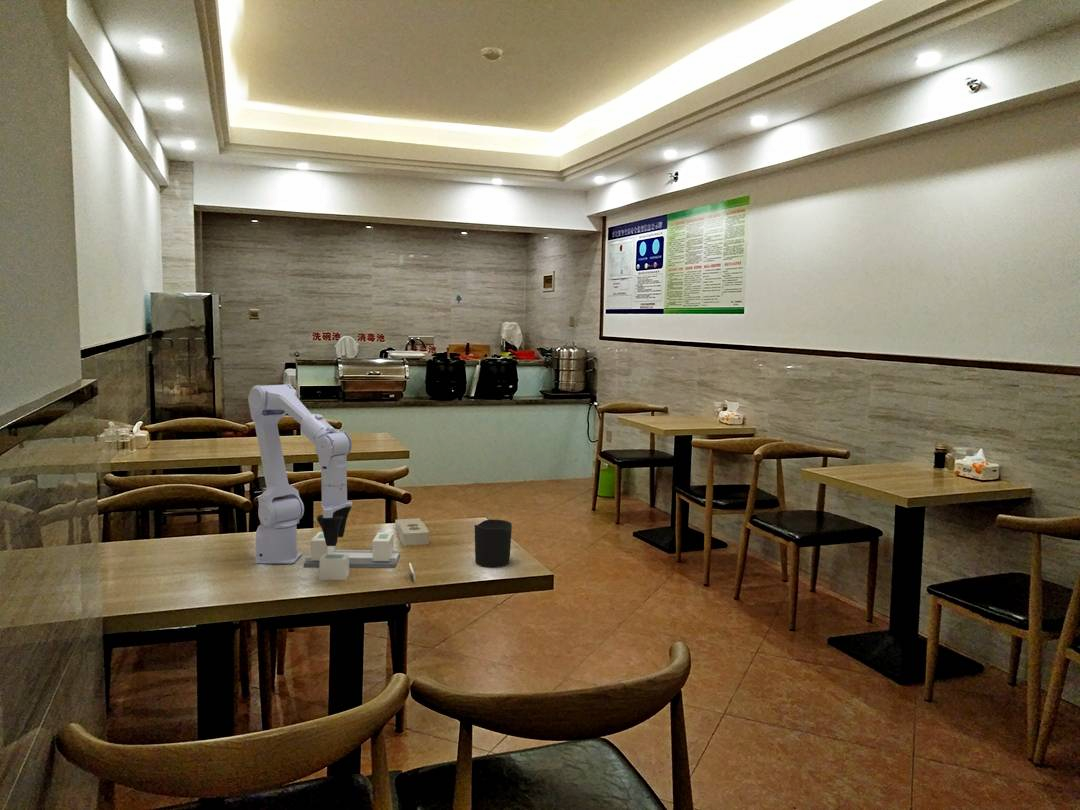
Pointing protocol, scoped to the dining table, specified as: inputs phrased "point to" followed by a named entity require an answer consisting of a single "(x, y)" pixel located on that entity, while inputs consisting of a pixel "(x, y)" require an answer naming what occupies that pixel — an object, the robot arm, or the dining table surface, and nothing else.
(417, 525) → the electrical outlet
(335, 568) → the block
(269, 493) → the robot arm
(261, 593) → the dining table surface
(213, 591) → the dining table surface
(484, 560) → the pen holder
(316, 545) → the grey stepped base
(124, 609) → the dining table surface
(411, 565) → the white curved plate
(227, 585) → the dining table surface
